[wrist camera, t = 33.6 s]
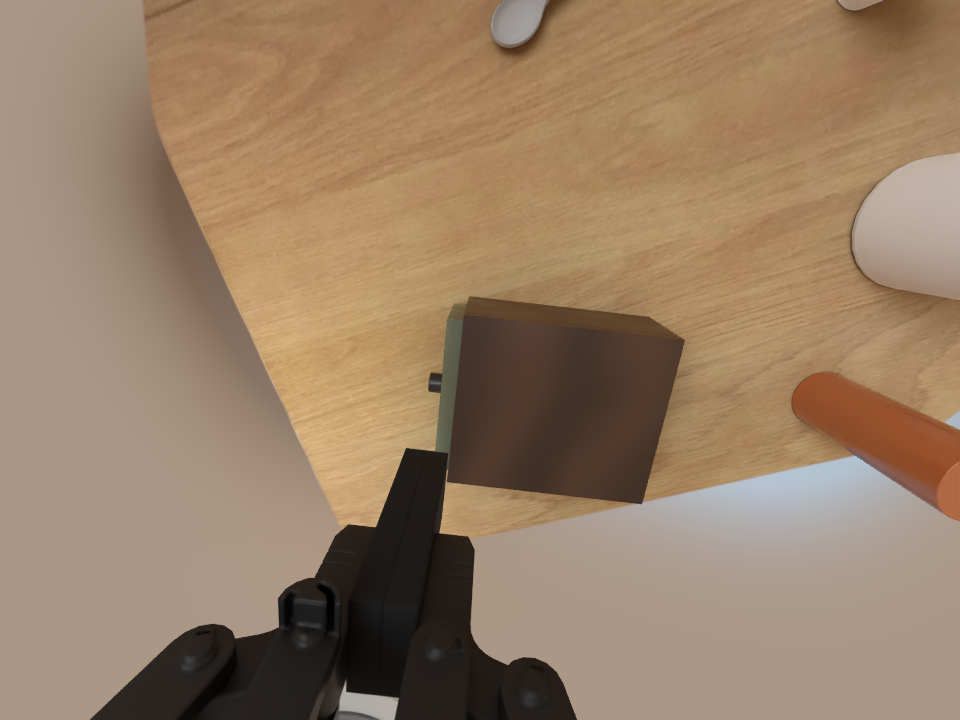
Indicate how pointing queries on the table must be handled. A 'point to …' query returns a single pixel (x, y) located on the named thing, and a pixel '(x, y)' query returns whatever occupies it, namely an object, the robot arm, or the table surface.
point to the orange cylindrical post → (886, 436)
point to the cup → (857, 4)
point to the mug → (913, 228)
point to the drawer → (448, 379)
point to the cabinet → (560, 399)
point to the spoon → (516, 21)
